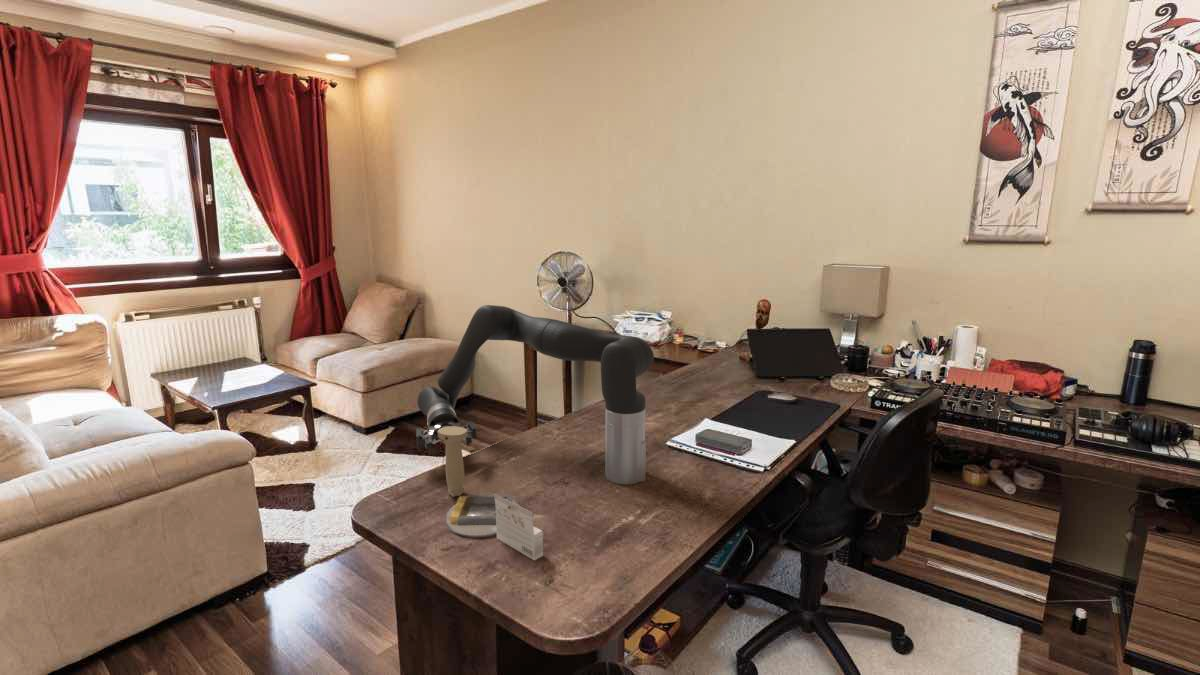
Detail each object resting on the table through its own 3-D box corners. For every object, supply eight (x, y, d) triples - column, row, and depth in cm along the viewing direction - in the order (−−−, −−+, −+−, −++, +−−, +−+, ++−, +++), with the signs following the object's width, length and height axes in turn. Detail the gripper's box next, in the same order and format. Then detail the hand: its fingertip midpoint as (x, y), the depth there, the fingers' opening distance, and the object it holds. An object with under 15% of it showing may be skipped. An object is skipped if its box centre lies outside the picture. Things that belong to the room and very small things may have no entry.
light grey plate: (524, 498, 126) (524, 488, 126) (515, 537, 112) (515, 525, 111) (456, 499, 126) (455, 488, 126) (438, 537, 111) (437, 526, 111)
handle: (449, 486, 132) (445, 425, 128) (474, 491, 130) (471, 428, 126) (437, 496, 127) (433, 432, 124) (463, 501, 125) (459, 436, 122)
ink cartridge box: (505, 533, 113) (503, 488, 111) (544, 556, 106) (542, 507, 104) (495, 539, 111) (493, 492, 109) (534, 562, 104) (532, 513, 102)
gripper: (412, 411, 147) (416, 433, 132) (469, 404, 152) (479, 425, 137) (415, 438, 149) (419, 464, 134) (471, 431, 154) (481, 454, 139)
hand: (449, 444), depth 136 cm, fingers open, 8 cm apart
